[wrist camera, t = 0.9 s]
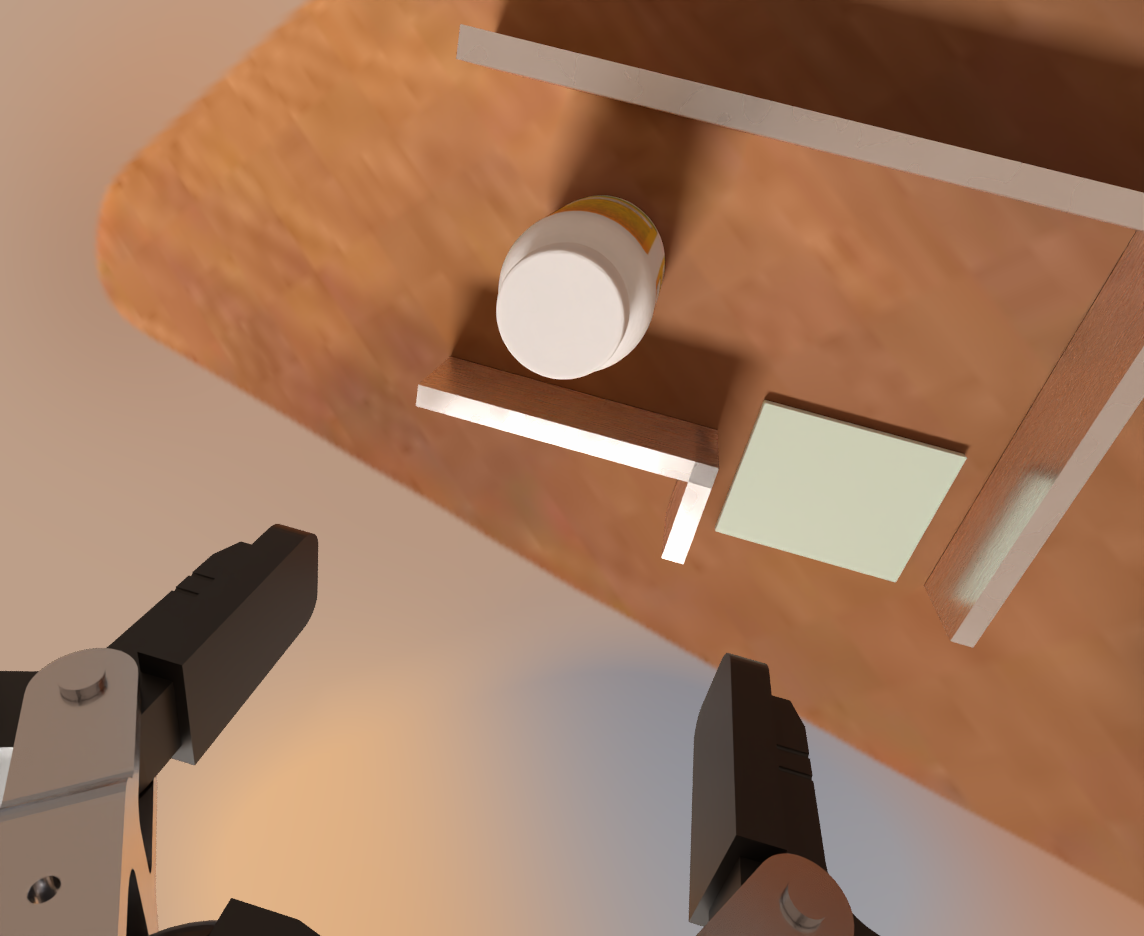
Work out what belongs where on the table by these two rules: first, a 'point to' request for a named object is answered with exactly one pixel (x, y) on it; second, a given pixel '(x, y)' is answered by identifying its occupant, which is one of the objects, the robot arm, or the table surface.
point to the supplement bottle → (580, 287)
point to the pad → (836, 490)
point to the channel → (690, 452)
